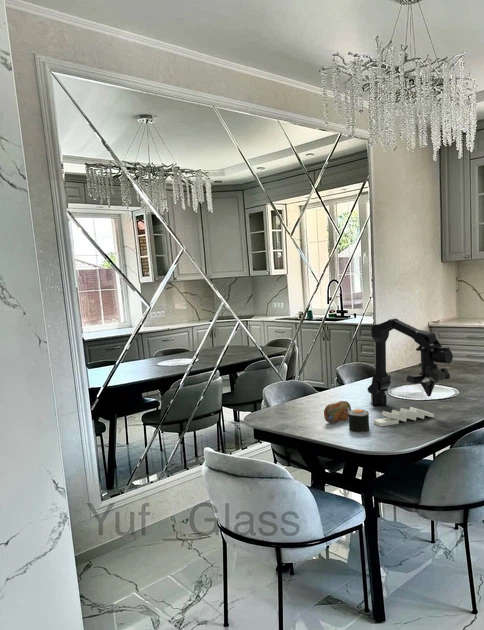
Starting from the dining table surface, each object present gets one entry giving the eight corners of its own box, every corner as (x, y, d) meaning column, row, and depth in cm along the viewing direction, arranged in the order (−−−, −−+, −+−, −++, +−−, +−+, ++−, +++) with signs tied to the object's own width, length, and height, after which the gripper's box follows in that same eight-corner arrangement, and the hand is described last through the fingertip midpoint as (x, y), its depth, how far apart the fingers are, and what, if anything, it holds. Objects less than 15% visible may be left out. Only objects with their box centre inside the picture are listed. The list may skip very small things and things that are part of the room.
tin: (328, 425, 207) (327, 406, 207) (323, 424, 210) (322, 405, 209) (352, 418, 216) (351, 399, 215) (346, 417, 219) (345, 398, 218)
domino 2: (405, 421, 205) (388, 417, 203) (398, 418, 210) (381, 414, 207) (406, 418, 205) (389, 413, 203) (399, 415, 210) (382, 410, 207)
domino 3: (415, 420, 207) (398, 415, 204) (408, 417, 212) (391, 413, 209) (416, 416, 207) (399, 412, 204) (409, 414, 212) (392, 409, 209)
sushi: (350, 426, 205) (349, 407, 204) (370, 427, 202) (369, 408, 201) (347, 431, 197) (346, 412, 197) (368, 432, 194) (367, 413, 194)
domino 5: (433, 417, 209) (416, 412, 207) (425, 414, 214) (409, 410, 211) (434, 414, 209) (417, 409, 207) (426, 411, 214) (410, 406, 212)
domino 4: (423, 419, 208) (406, 414, 205) (416, 416, 213) (399, 411, 210) (424, 415, 208) (407, 410, 205) (417, 412, 213) (400, 407, 210)
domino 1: (398, 423, 204) (380, 426, 201) (391, 420, 209) (373, 423, 206) (398, 420, 204) (380, 422, 201) (391, 417, 209) (373, 419, 206)
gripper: (421, 366, 201) (422, 403, 202) (458, 361, 207) (459, 397, 208) (405, 362, 212) (406, 397, 213) (440, 358, 217) (441, 392, 218)
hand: (428, 396), depth 213 cm, fingers closed
